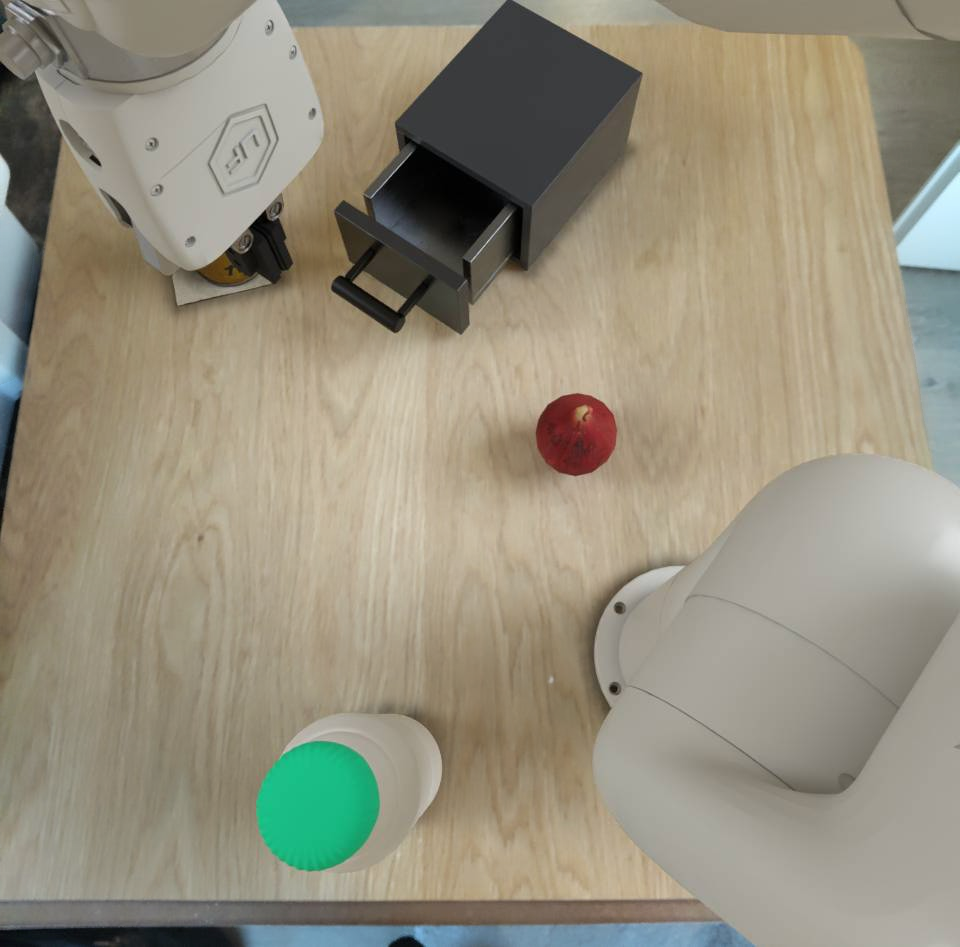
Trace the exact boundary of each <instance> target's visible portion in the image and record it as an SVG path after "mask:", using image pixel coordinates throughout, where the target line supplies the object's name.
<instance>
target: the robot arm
mask: <svg viewBox="0 0 960 947" xmlns="http://www.w3.org/2000/svg"><path fill="white" fill-rule="evenodd" d="M654 1H656V2H657V3H658V4H660V5H661V6H663V7H664V8H665V9H667V10H669V12H672V13H673V14H675V15H676V16H678V17H680V18H682V19H684V20H687V21H688V22H691V23H692V24H693V23H694V24H696V25H699V26H702V27H706V28H711V29H714V30H719V31H722V32H726V33H737V34H739V33H740V34H764V35H790V36H791V35H792V36H797V35H798V36H841V37H842V36H843V37H862V38H863V37H865V38H881V39H882V38H884V39H903V40H904V39H905V40H923V41H942V42H943V41H946V42H960V0H654ZM1 2H2V4H3V5H4V11H5V14H6V19H7V20H6V21H5V22H4V23H2V25H1V27H2V32H1V33H0V62H1V63H2V64H3V65H4V66H5V67H6V69H8V70H9V71H10V72H11V73H12V74H14V76H16V77H18V78H19V79H21V80H22V81H26V80H27V79H28V78H29V77H30V76H31V75H32V74H33V73H35V75H36V79H37V82H38V84H39V86H40V89H41V91H42V94H43V96H44V99H45V101H46V103H47V106H48V109H49V110H50V113H51V115H52V117H53V119H54V121H55V124H56V125H57V128H58V129H59V131H60V133H61V135H62V137H63V139H64V141H65V142H66V144H67V146H68V148H69V151H70V153H71V154H72V155H73V157H74V159H75V160H76V162H77V164H78V166H79V167H80V169H81V171H82V172H83V174H84V175H85V177H86V179H87V181H88V182H89V183H90V185H91V187H92V189H93V190H94V192H95V193H96V195H97V196H98V197H99V199H100V200H101V202H102V203H103V205H104V206H105V208H106V209H107V210H108V212H109V213H110V214H111V216H113V217H114V219H115V220H116V221H117V222H118V223H119V224H120V225H121V226H123V227H124V228H126V229H133V231H134V235H135V237H136V240H137V243H138V247H139V250H140V252H141V256H142V257H143V261H144V262H145V263H146V264H148V265H149V266H150V267H152V269H155V270H156V271H157V272H158V273H160V274H162V275H163V276H165V277H169V276H171V275H173V273H174V272H176V271H177V270H178V269H180V268H183V269H185V270H187V271H193V270H197V269H200V268H203V267H205V266H207V265H208V264H210V263H212V262H213V261H214V260H216V259H217V258H218V257H219V256H221V255H222V254H223V253H224V252H225V254H226V255H227V257H228V259H229V261H230V262H231V263H232V264H233V265H234V266H235V267H236V268H237V269H238V270H239V271H241V272H242V273H244V274H245V275H247V276H248V277H252V276H253V275H254V274H255V273H256V272H257V273H258V274H260V275H261V276H262V277H264V278H265V279H267V280H268V281H270V282H271V283H272V284H273V285H276V284H277V283H278V282H280V280H281V279H282V272H285V271H289V270H290V269H291V268H292V266H293V265H294V264H295V262H294V261H293V258H292V256H291V253H290V251H289V249H288V247H287V244H286V242H285V241H286V240H287V235H286V232H285V230H284V228H283V224H282V223H281V220H280V217H281V215H282V213H283V211H284V208H285V203H284V198H283V191H284V190H285V189H286V188H287V187H288V186H289V185H290V184H291V182H292V181H293V180H295V178H296V177H297V176H298V175H299V173H301V171H303V169H304V168H305V167H306V166H307V164H308V163H310V161H311V160H312V159H313V157H314V156H315V155H316V153H317V151H318V150H319V148H320V146H321V145H322V141H323V139H324V135H325V121H324V115H323V111H322V107H321V103H320V101H319V97H318V94H317V91H316V87H315V84H314V82H313V79H312V76H311V74H310V71H309V68H308V66H307V65H308V64H307V63H306V61H305V58H304V56H303V53H302V50H301V48H300V46H299V43H298V41H297V38H296V35H295V34H294V32H293V29H292V27H291V25H290V23H289V21H288V18H287V16H286V15H285V13H284V11H283V9H282V7H281V5H280V4H279V1H278V0H1ZM617 607H619V608H620V610H621V611H620V612H617V610H616V608H617ZM593 644H594V645H593V660H594V669H595V675H596V678H597V682H598V685H599V687H600V690H601V692H602V694H603V696H604V698H605V700H606V702H607V704H608V706H609V707H610V710H609V712H608V714H607V715H606V717H605V718H604V720H603V722H602V724H601V725H600V728H599V731H598V733H597V735H596V738H595V741H594V744H593V750H592V758H591V760H592V761H591V763H592V764H591V766H592V769H591V770H592V775H593V781H594V785H595V786H596V787H595V788H596V790H597V793H598V796H599V798H600V799H601V801H602V803H603V805H604V807H605V808H606V810H607V812H608V813H609V815H610V816H611V817H612V819H613V820H614V821H615V822H616V824H617V825H618V827H619V828H620V829H621V831H622V832H623V833H624V834H625V835H626V836H627V837H628V838H629V839H630V840H631V842H632V843H634V845H635V846H636V847H637V848H638V849H639V850H640V851H641V852H642V853H643V854H644V855H645V856H646V857H647V858H648V859H650V860H651V861H652V862H653V863H654V864H655V865H657V867H659V868H660V869H661V870H662V871H663V872H665V873H666V874H667V875H668V876H669V877H670V878H671V879H672V880H674V881H675V882H676V883H677V884H678V885H679V886H680V887H682V888H683V889H684V890H685V891H686V892H688V893H689V894H691V895H692V896H693V897H694V898H695V899H697V900H698V901H699V902H700V903H702V904H703V906H705V907H706V908H708V909H709V910H710V911H712V912H713V913H714V914H715V915H716V916H718V917H719V918H720V919H721V920H722V921H724V922H725V923H726V924H727V925H729V926H730V927H731V928H732V929H733V930H734V931H736V932H737V933H738V934H739V935H741V937H743V939H746V940H747V941H748V942H749V943H750V944H752V945H753V946H754V947H960V487H959V486H957V485H956V484H954V483H953V482H952V481H950V480H949V479H947V478H945V477H944V476H942V475H940V474H938V473H936V472H935V471H933V470H931V469H928V468H926V467H924V466H921V465H920V464H916V463H914V462H911V461H907V460H904V459H901V458H898V457H893V456H888V455H882V454H874V453H866V452H865V453H862V452H861V453H859V452H858V453H856V452H854V453H853V452H852V453H851V452H850V453H840V454H830V455H825V456H822V457H817V458H813V459H811V460H808V461H805V462H802V463H799V464H798V465H796V466H795V465H794V466H793V467H790V468H789V469H787V470H785V471H784V472H781V474H778V475H777V476H776V477H775V478H773V479H772V480H770V481H769V482H768V483H766V484H765V485H764V486H763V487H762V488H761V489H760V490H759V491H758V492H757V493H756V494H754V495H753V497H752V498H750V500H749V501H748V502H747V503H746V504H745V505H744V507H743V508H742V509H741V510H740V511H739V512H738V513H737V515H736V516H735V517H734V518H733V519H732V520H731V522H730V523H729V524H728V525H727V527H725V528H724V530H722V532H721V533H720V534H719V536H717V538H716V539H715V540H714V541H713V542H712V543H711V544H710V545H709V546H708V547H707V548H706V549H705V550H704V551H703V552H702V553H701V554H699V555H698V556H697V557H696V558H694V559H693V560H692V561H691V562H689V563H688V564H686V565H668V566H662V567H658V568H654V569H651V570H649V571H647V572H644V573H642V574H640V575H637V576H636V577H635V578H633V579H632V580H631V581H628V583H626V584H625V585H624V586H622V588H620V589H619V590H618V591H617V592H616V593H615V595H614V596H613V597H612V598H611V600H610V601H609V602H608V604H607V605H606V607H605V609H604V611H603V613H602V615H601V617H600V619H599V621H598V624H597V627H596V632H595V636H594V643H593ZM612 686H615V687H616V691H615V692H613V691H611V687H612Z"/></svg>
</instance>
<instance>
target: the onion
mask: <svg viewBox="0 0 960 947" xmlns="http://www.w3.org/2000/svg"><path fill="white" fill-rule="evenodd" d="M617 436H618V427H617V423H616V419H615V415H614V413H613V412H612V410H611V409H610V408H609V407H608V406H607V405H606V404H605V403H604V402H603V401H602V400H600V399H598V398H597V397H594V396H593V395H589V394H584V393H579V392H576V393H569V394H564V395H561V396H559V397H558V398H556V399H554V400H553V401H551V402H550V403H548V404H547V405H546V406H545V408H544V409H543V411H542V413H540V415H539V417H538V419H537V423H536V429H535V441H536V446H537V450H538V452H539V454H540V456H541V457H542V459H543V460H544V462H545V463H546V464H547V465H548V466H549V467H551V468H552V469H553V470H555V471H557V473H559V474H562V475H563V474H564V475H567V476H573V477H580V476H583V475H584V476H585V475H588V474H592V473H593V472H595V471H596V470H598V469H599V468H601V467H602V466H603V465H604V464H606V463H607V462H608V460H609V459H610V457H611V455H612V453H613V452H614V450H615V448H616V445H617Z"/></svg>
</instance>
